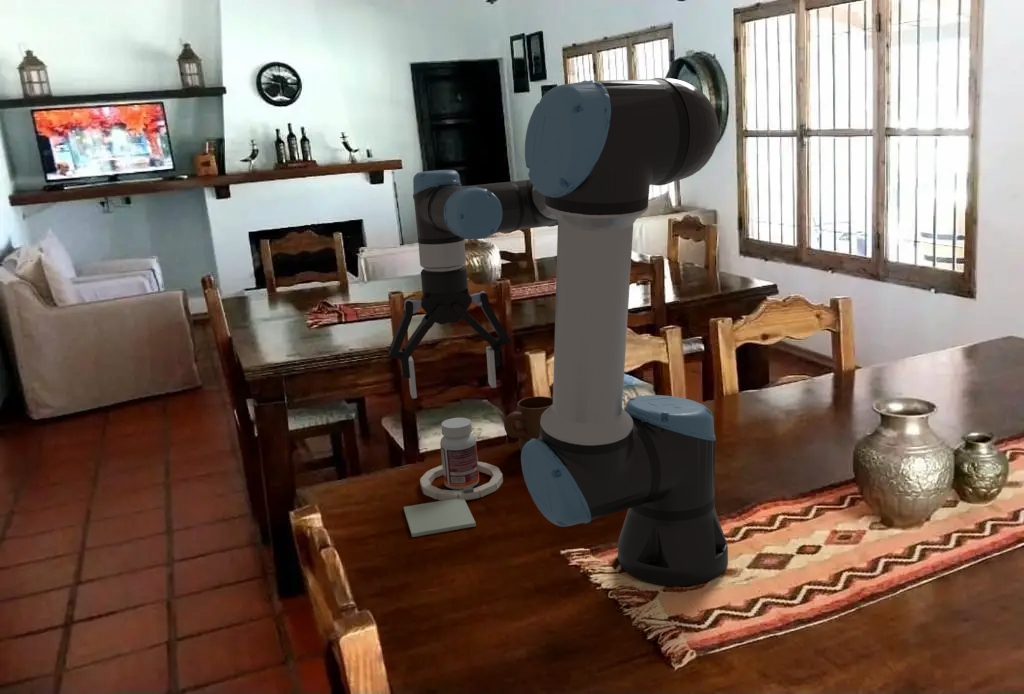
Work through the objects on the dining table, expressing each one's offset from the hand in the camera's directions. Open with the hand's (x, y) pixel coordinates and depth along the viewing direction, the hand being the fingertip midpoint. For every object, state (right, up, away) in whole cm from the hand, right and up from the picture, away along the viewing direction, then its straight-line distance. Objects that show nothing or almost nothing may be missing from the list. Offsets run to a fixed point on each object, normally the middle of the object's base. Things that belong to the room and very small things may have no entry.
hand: (453, 390), depth 147 cm
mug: (+14, -13, +16) cm, 24 cm away
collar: (+1, -16, +4) cm, 17 cm away
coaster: (-2, -20, -8) cm, 22 cm away
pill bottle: (+1, -17, +4) cm, 17 cm away
